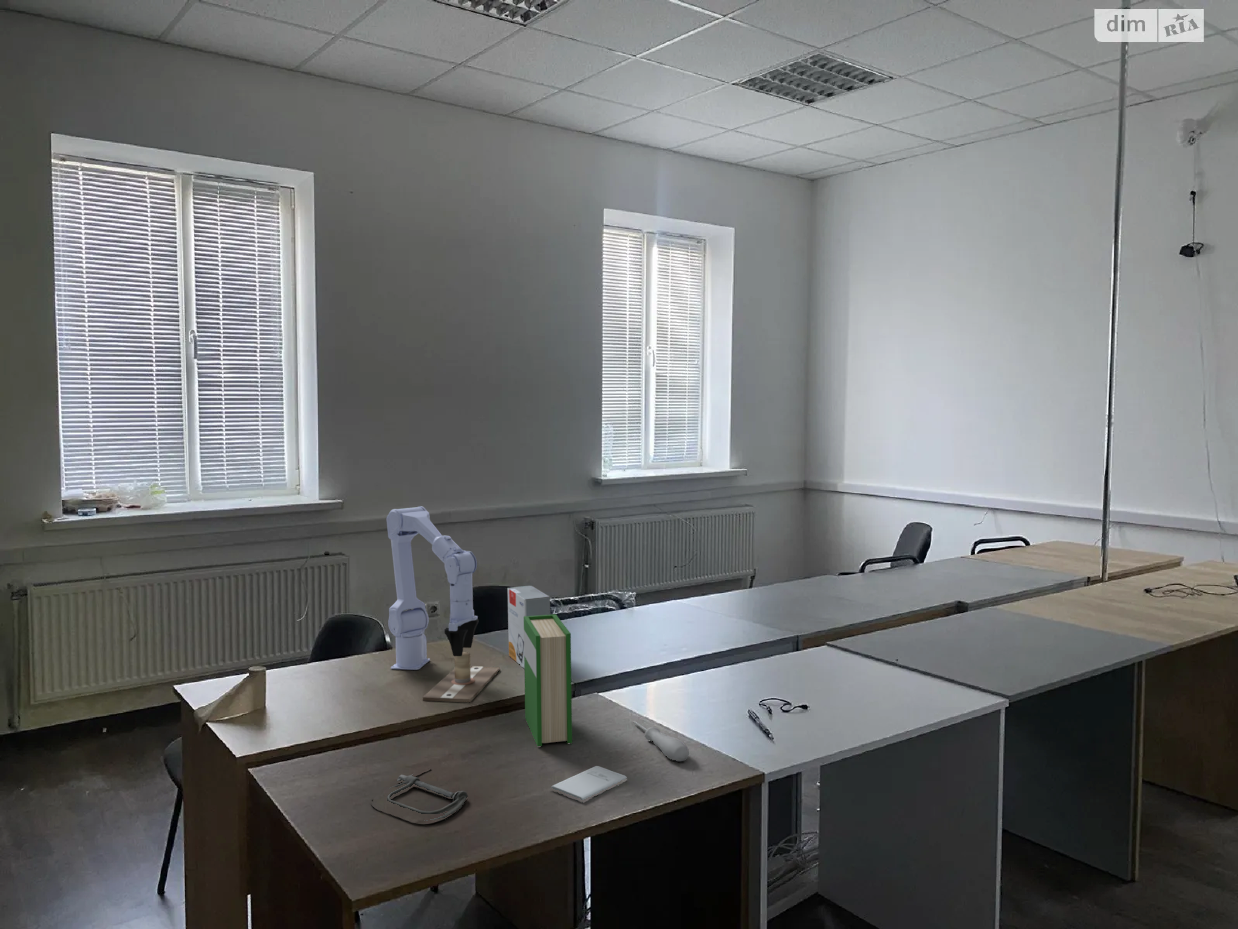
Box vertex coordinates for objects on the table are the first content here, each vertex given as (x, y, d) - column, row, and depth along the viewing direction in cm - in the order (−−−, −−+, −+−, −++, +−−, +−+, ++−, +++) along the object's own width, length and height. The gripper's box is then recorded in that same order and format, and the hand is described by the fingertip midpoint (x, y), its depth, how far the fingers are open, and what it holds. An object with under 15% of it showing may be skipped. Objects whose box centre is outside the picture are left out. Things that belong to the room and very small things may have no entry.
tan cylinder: (457, 678, 234) (456, 651, 233) (472, 678, 233) (471, 652, 233) (453, 683, 230) (452, 656, 229) (468, 683, 229) (467, 656, 229)
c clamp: (353, 801, 166) (353, 787, 166) (429, 772, 179) (429, 758, 179) (420, 835, 153) (419, 820, 153) (497, 801, 166) (496, 786, 166)
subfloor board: (457, 668, 245) (457, 665, 245) (499, 670, 244) (499, 666, 243) (422, 700, 220) (422, 696, 220) (470, 702, 218) (469, 698, 218)
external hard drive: (551, 793, 169) (595, 772, 178) (582, 806, 163) (627, 783, 173) (550, 785, 168) (595, 764, 178) (582, 797, 163) (627, 775, 172)
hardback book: (572, 744, 191) (570, 633, 189) (537, 748, 189) (535, 636, 188) (557, 716, 208) (555, 614, 206) (525, 719, 206) (523, 616, 205)
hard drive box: (507, 656, 257) (506, 587, 256) (533, 653, 260) (532, 585, 259) (525, 671, 243) (524, 598, 241) (552, 667, 246) (551, 595, 245)
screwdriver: (640, 731, 203) (643, 712, 204) (692, 766, 180) (695, 745, 181) (621, 729, 202) (624, 710, 202) (671, 765, 179) (674, 743, 179)
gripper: (467, 606, 222) (468, 660, 223) (484, 593, 237) (485, 644, 238) (440, 605, 223) (441, 659, 224) (459, 593, 238) (460, 643, 239)
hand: (462, 651), depth 231 cm, fingers open, 7 cm apart
